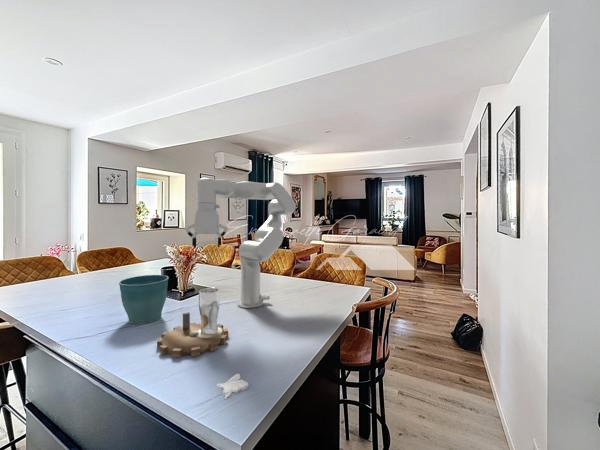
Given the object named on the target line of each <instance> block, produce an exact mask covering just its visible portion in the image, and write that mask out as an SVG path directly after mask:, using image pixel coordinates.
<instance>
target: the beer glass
mask: <svg viewBox="0 0 600 450" xmlns="http://www.w3.org/2000/svg"><path fill="white" fill-rule="evenodd" d="M219 289H220V288H216V287H207V288H206V287H205V288H202V289H200V290H199V293H198V309H199V316H200V320H201V321H200V324H201V331H200V334H201V335H203V336H211V335H215V334H217V333H218V325H217V324H218V317H219V312H220V311H219V310H220V305H221V304H220V303H221V301H220V290H219Z"/></svg>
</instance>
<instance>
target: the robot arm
mask: <svg viewBox="0 0 600 450" xmlns="http://www.w3.org/2000/svg"><path fill="white" fill-rule="evenodd" d="M220 198H221V199H222V198H223V199H239V200H262V201H269V200H271V201H269V203H268V206H267V213H268V217H267V219H266V221H264V223H263V224H262V225H261V226H260V227H259V228H258V229H257V230H256V232H255V234H254V235H253V239H254V240H246V241H243V242H242V243H241V244H240V245H239V248H238V255H239V261H240V263H239V264H240V300H238V301H237V306H238V307H240V308H243V309H252V308H258V307H261V306H263V305H264V300H266V301H269V300H270V295H266V294H265V295H262V294H261V265H260V263H265V262H267V261H268V260H269V259H271V257H272V256H273V255H274V254H275V252H276V251H277V250H278V249H279V248H280V246H282V244H283V240H284V233H283V231H282V230H281V228H282V225H283V223H282V216H283V215H284V216H285V215H287V216H289V215H292V214H293V213H294V212H295V211H296V209H297V208H296V202H295V200H294V199H293V197H292V196H291V195H290V194H289V192H288V191H287V189H286V188H285V187H284V185H282V184H281V183H279V182H267V183H266V182H255V181H239V182H233V181H231V180H229V179H214V178H211V177H210V178H207V177H202V178H199V179H198V180H197V210H195V213H194V214H195V215H194V223H193V224H191V225H189V226H186V227H185V231H186V233H187V235H188V236H189V237H190V238H191V239H192V245H191V246H192V247H193V248H194V249H196V248H197V236H198V235H210V234H211V235H213V234H215V235H217V248H221V247H220V246H222V238H223V237H224V236H225V235H226V233H227V231H228V229H229V228H228V227H227V226H225V225H224V224H221V223H220V215H219V211H218V210H217V209H220V204H217V199H220ZM193 228H194V230H193V231H194V233H192V232H191V229H193ZM220 228H221V229H223V231H222V232H221V233H220Z"/></svg>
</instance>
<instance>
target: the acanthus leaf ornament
mask: <svg viewBox="0 0 600 450" xmlns="http://www.w3.org/2000/svg"><path fill="white" fill-rule="evenodd" d="M239 379H240V380H239ZM222 384H223V385H222ZM216 386H217V387H219V386H220V387H222V388H223V389H224V390H223V389H222V388H221V389H222V395H223V394H224V395H223V397H224V396H225V397H224V398H225V399H226V398H227V397H229V396H230V395H231V396H232V394H233V392H237V393H239V391H240V390H242V391H244V390H243V389H246V388H247V389H248V386H249V383H248V382H247V381H244V379H241V375H240V373H239V372H238V373H235V374H234V375H233V376H232V377H231V378H229V379H228V380H227V381H226V382H224V383H217V384H216V385H215V387H216ZM217 387H216V388H217ZM220 387H219V388H220ZM239 389H240V390H239ZM247 389H246V390H247ZM231 390H232V391H233V392H232V391H231ZM231 393H232V394H231ZM231 396H230V397H231ZM230 397H229V398H230ZM227 399H228V398H227ZM227 399H226V400H227Z"/></svg>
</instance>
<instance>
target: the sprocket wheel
mask: <svg viewBox="0 0 600 450" xmlns="http://www.w3.org/2000/svg"><path fill="white" fill-rule="evenodd" d="M217 325H218V333H217V334H215V335H211V336H203V335H201V334H200V331H201V323H197V322H191V314H190V312H187V311H186V312H182V325H177V326H175V327H173V329H172V330H170V331H164V332H163V333H161V337H160V338H157V339H156V348H157V349H158V350H159V354H161V355H166V354H171V357H172V358H181V357H182V356H189V355H190V356H191V357H196V356H201V353H205V352H207V351H209V352H213V351H217V350H218V348H219V347H218V346H219V345H222V344H223V345H224V344H226V343H227V341H228V337H229V329H228V328H227V327H226V328H224V325H223V324H221V323H217Z"/></svg>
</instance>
